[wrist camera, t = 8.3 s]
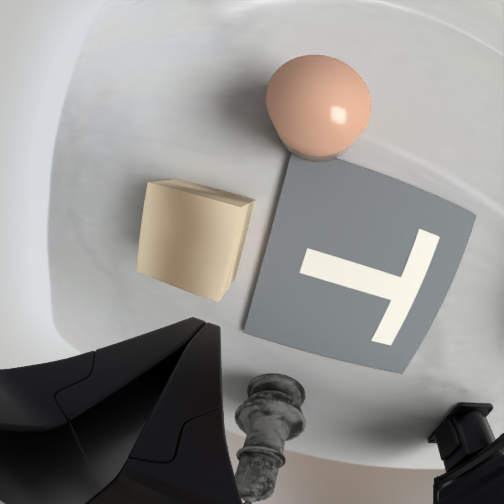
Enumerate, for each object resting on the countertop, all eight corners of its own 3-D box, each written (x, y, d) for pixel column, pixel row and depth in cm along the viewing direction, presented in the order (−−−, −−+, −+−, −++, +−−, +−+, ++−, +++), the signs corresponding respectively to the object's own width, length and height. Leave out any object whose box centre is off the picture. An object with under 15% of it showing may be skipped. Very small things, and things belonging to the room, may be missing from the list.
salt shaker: (232, 380, 24) (183, 489, 12) (291, 363, 22) (265, 491, 11) (263, 419, 24) (233, 521, 13) (318, 405, 23) (306, 520, 11)
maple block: (255, 199, 19) (240, 207, 15) (235, 278, 21) (218, 302, 17) (177, 178, 20) (147, 182, 16) (164, 253, 22) (136, 270, 18)
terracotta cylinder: (361, 102, 15) (379, 72, 10) (344, 172, 16) (358, 163, 12) (287, 81, 16) (280, 45, 11) (267, 149, 17) (253, 132, 12)
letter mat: (473, 214, 15) (476, 215, 15) (401, 370, 20) (402, 374, 20) (293, 146, 17) (293, 146, 17) (244, 330, 22) (243, 333, 21)
